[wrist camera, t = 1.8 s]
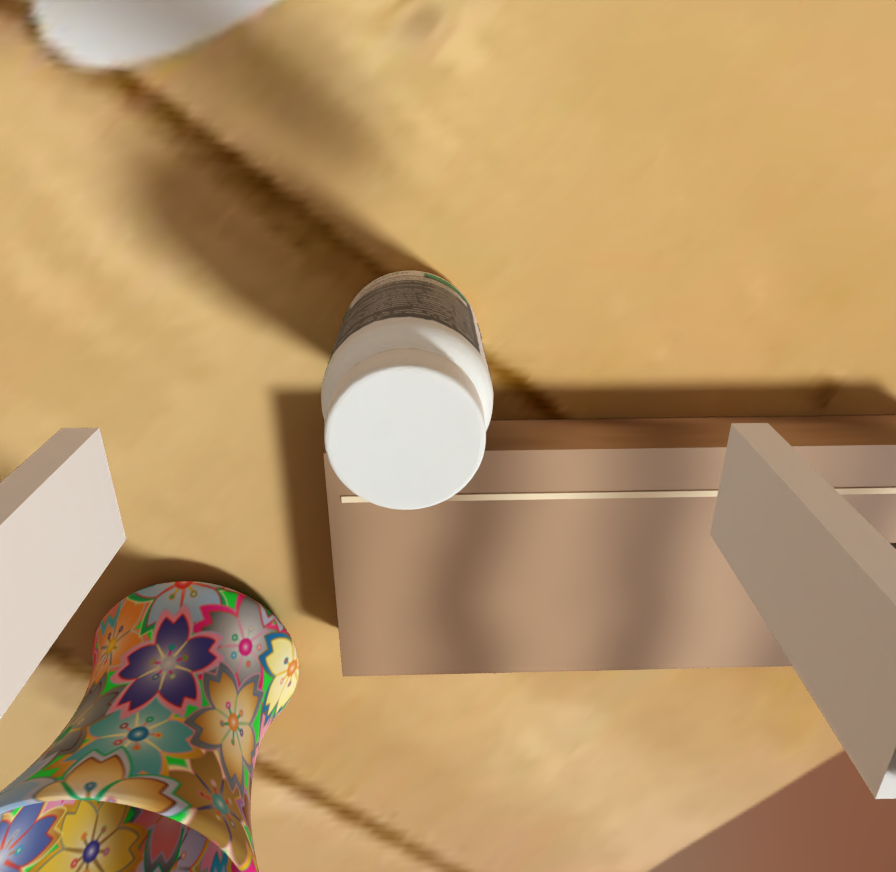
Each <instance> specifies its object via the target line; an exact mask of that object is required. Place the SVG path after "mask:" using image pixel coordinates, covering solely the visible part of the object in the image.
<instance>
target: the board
mask: <svg viewBox="0 0 896 872" xmlns="http://www.w3.org/2000/svg"><path fill="white" fill-rule="evenodd" d="M731 423H768V424H769V425H770V426H771V427H772V428H773V429H774V430H775V431H776V432H777V433H778V434H779V435H780V436H781V437H782V438H783V439H784V440H786V441H787V442H788V443H789V444H790V445H791V446H792V447H793V448H794V449H795V450H796V451H797V452H798V453H799V454H800V455H801V456H802V457H803V458H804V459H805V460H806V461H807V462H808V463H809V464H810V465H811V466H812V467H813V468H814V469H815V470H816V471H817V472H818V473H819V474H820V475H821V476H822V477H823V478H824V479H825V480H826V481H827V482H828V483H829V484H830V485H831V486H832V487H833V488H834V489H835V490H836V491H837V492H838V493H839V494H840V495H841V496H842V497H843V498H844V499H845V500H846V501H847V502H848V503H849V504H850V505H851V506H852V507H853V508H854V509H855V510H856V511H857V512H858V513H860V514H861V515H862V516H863V517H864V518H865V519H866V520H867V521H868V522H869V523H870V524H871V525H872V526H873V527H874V528H875V529H876V530H877V531H878V532H879V533H880V534H881V535H882V536H883V537H884V538H885V539H886V540H887V541H888V542H889V543H896V415H856V416H781V417H706V418H632V419H557V420H490V423H489V426H488V428H487V431H486V445H485V451H484V455H483V458H482V461H481V464H480V466H479V468H478V469H477V471H476V473H475V474H474V476H473V477H472V479H471V480H470V481H469V482H468V483H467V485H466V486H465V487H464V488H462V489H461V490H460V491H459V492H458V493H456V494H455V495H454V496H452V497H451V498H449V499H447V500H445V501H443V502H440V503H438V504H436V505H433V506H430V507H425V508H421V509H414V510H399V509H390V508H386V507H382V506H378V505H375V504H373V503H371V502H368V501H366V500H364V499H363V498H361V497H359V496H358V495H356V494H355V493H353V492H352V491H351V490H349V489H348V488H347V487H346V486H345V485H344V484H343V483H342V481H341V480H340V479H339V478H338V477H337V475H336V474H335V472H334V470H333V469H332V467H331V465H330V463H329V460H328V457H327V454H326V450H325V449H324V452H323V456H324V467H325V479H326V490H327V502H328V513H329V524H330V536H331V547H332V559H333V570H334V582H335V593H336V605H337V616H338V627H339V639H340V650H341V662H342V673H343V676H381V675H425V674H468V673H512V672H555V671H598V670H642V669H685V668H728V667H772V666H792V664H791V663H790V661H789V660H788V658H787V656H786V655H785V653H784V652H783V650H782V648H781V647H780V645H779V644H778V642H777V640H776V639H775V637H774V636H773V634H772V632H771V631H770V629H769V628H768V626H767V624H766V623H765V621H764V620H763V618H762V616H761V615H760V613H759V612H758V610H757V608H756V607H755V605H754V604H753V602H752V600H751V599H750V597H749V596H748V594H747V592H746V591H745V589H744V588H743V586H742V584H741V583H740V581H739V580H738V578H737V576H736V575H735V573H734V572H733V570H732V568H731V567H730V565H729V564H728V562H727V560H726V559H725V557H724V556H723V554H722V552H721V551H720V549H719V548H718V546H717V544H716V543H715V541H714V540H713V538H712V536H711V535H710V531H711V526H712V521H713V516H714V510H715V505H716V500H717V495H718V490H719V485H720V479H721V474H722V469H723V464H724V459H725V454H726V448H727V443H728V438H729V433H730V428H731Z"/></svg>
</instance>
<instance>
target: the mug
mask: <svg viewBox="0 0 896 872" xmlns="http://www.w3.org/2000/svg"><path fill="white" fill-rule="evenodd" d="M92 660H93V672H92V676H91V680H90V683H89V686H88V688H87V691H86V693H85V696H84V698H83V700H82V702H81V704H80V705H79V707H78V709H77V711H76V712H75V714H74V716H73V717H72V718H71V720H70V721H69V723H68V724H67V726H66V727H65V728H64V730H63V731H62V732H61V734H60V735H59V736H58V737H57V739H56V740H55V741H54V742H53V743H52V745H51V746H50V747H49V748H48V749H47V750H46V751H45V752H44V753H43V754H42V755H41V756H40V757H39V758H38V759H37V760H36V761H35V762H34V763H33V764H32V765H31V766H30V767H29V768H28V769H27V770H26V771H25V772H24V773H22V774H21V775H20V776H19V777H18V778H17V779H16V780H14V781H13V782H12V783H11V784H9V785H8V786H7V787H6V788H5V789H3V790H2V791H1V792H0V872H259V870H258V866H257V861H256V856H255V851H254V845H253V838H252V829H251V785H252V777H253V771H254V766H255V761H256V757H257V753H258V750H259V747H260V744H261V741H262V739H263V736H264V734H265V732H266V730H267V728H268V726H269V725H270V723H271V722H272V721H273V719H274V718H275V717H276V716H278V714H279V713H280V712H281V711H282V710H283V709H284V708H285V707H286V705H287V704H288V702H289V701H290V699H291V697H292V696H293V693H294V691H295V689H296V685H297V682H298V676H299V664H298V656H297V652H296V648H295V645H294V643H293V640H292V639H291V637H290V635H289V633H288V632H287V630H286V628H285V627H284V626H283V625H282V623H281V622H280V621H279V620H278V619H277V618H276V617H275V616H274V615H273V614H272V613H271V612H270V611H269V610H268V609H267V608H265V607H264V606H263V605H261V604H260V603H258V602H257V601H255V600H254V599H252V598H250V597H249V596H246V595H244V594H242V593H240V592H238V591H235V590H233V589H230V588H227V587H224V586H220V585H216V584H211V583H205V582H196V581H177V582H167V583H161V584H156V585H153V586H149V587H146V588H143V589H140V590H138V591H136V592H134V593H132V594H130V595H128V596H127V597H125V598H124V599H122V600H121V601H120V602H118V603H117V604H116V605H115V606H114V607H113V608H112V609H111V610H110V611H109V612H108V613H107V614H106V615H105V616H104V618H103V619H102V621H101V623H100V624H99V626H98V628H97V631H96V634H95V637H94V641H93V648H92Z"/></svg>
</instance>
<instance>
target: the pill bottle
mask: <svg viewBox="0 0 896 872" xmlns="http://www.w3.org/2000/svg"><path fill="white" fill-rule="evenodd" d="M493 395H494V393H493V387H492V381H491V375H490V372H489V367H488V363H487V360H486V356H485V352H484V348H483V343H482V337H481V333H480V329H479V326H478V323H477V320H476V317H475V314H474V312H473V309H472V307H471V305H470V304H469V302H468V300H467V299H466V298H465V296H464V295H463V294H462V293H461V292H460V291H459V290H458V289H457V288H456V287H455V286H454V285H452V284H451V283H449V282H448V281H447V280H445V279H443V278H441V277H439V276H437V275H434V274H431V273H427V272H423V271H415V270H409V271H398V272H393V273H389V274H386V275H384V276H381V277H379V278H377V279H375V280H373V281H372V282H371V283H369V284H368V285H366V286H365V287H364V288H363V289H362V290H361V291H360V292H359V293H358V294H357V295H356V297H355V298H354V299H353V301H352V303H351V304H350V306H349V308H348V310H347V312H346V315H345V317H344V320H343V324H342V326H341V329H340V331H339V334H338V337H337V340H336V343H335V346H334V349H333V352H332V355H331V358H330V360H329V363H328V366H327V368H326V371H325V374H324V378H323V383H322V390H321V405H322V413H323V417H324V421H325V426H324V443H325V450H326V454H327V457H328V460H329V463H330V465H331V467H332V469H333V470H334V472H335V474H336V475H337V477H338V478H339V479H340V480H341V481H342V483H343V484H344V485H345V486H346V487H347V488H348V489H349V490H351V491H352V492H353V493H355V494H356V495H358V496H359V497H361V498H363V499H364V500H366V501H368V502H371V503H373V504H375V505H378V506H382V507H386V508H390V509H399V510H414V509H421V508H425V507H430V506H433V505H436V504H438V503H440V502H443V501H445V500H447V499H449V498H451V497H452V496H454V495H455V494H456V493H458V492H459V491H460V490H461V489H462V488H464V487H465V486H466V485H467V483H468V482H469V481H470V480H471V479H472V477H473V476H474V474H475V473H476V471H477V469H478V468H479V466H480V464H481V461H482V458H483V455H484V451H485V445H486V431H487V428H488V426H489V423H490V420H491V415H492V409H493Z"/></svg>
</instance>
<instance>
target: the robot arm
mask: <svg viewBox="0 0 896 872" xmlns="http://www.w3.org/2000/svg"><path fill="white" fill-rule="evenodd" d="M710 535H711V536H712V538H713V540H714V541H715V543H716V544H717V546H718V548H719V549H720V551H721V552H722V554H723V556H724V557H725V559H726V560H727V562H728V564H729V565H730V567H731V568H732V570H733V572H734V573H735V575H736V576H737V578H738V580H739V581H740V583H741V584H742V586H743V588H744V589H745V591H746V592H747V594H748V596H749V597H750V599H751V600H752V602H753V604H754V605H755V607H756V608H757V610H758V612H759V613H760V615H761V616H762V618H763V620H764V621H765V623H766V624H767V626H768V628H769V629H770V631H771V632H772V634H773V636H774V637H775V639H776V640H777V642H778V644H779V645H780V647H781V648H782V650H783V652H784V653H785V655H786V656H787V658H788V660H789V661H790V663H791V664H792V666H793V668H794V669H795V671H796V672H797V674H798V676H799V677H800V679H801V680H802V682H803V684H804V685H805V687H806V688H807V690H808V692H809V693H810V695H811V696H812V698H813V700H814V701H815V703H816V704H817V706H818V708H819V709H820V711H821V712H822V714H823V716H824V717H825V719H826V720H827V722H828V724H829V725H830V727H831V728H832V730H833V732H834V733H835V735H836V736H837V738H838V740H839V741H840V743H841V744H842V746H843V748H844V749H845V751H846V752H847V754H848V756H849V757H850V759H851V760H852V762H853V763H854V765H855V767H856V768H857V770H858V772H859V773H860V775H861V776H862V778H863V780H864V781H865V783H866V784H867V786H868V788H869V789H870V791H871V792H872V794H873V796H874V797H875V799H884V798H885V799H887V798H888V799H890V798H896V543H889V542H888V541H887V540H886V539H885V538H884V537H883V536H882V535H881V534H880V533H879V532H878V531H877V530H876V529H875V528H874V527H873V526H872V525H871V524H870V523H869V522H868V521H867V520H866V519H865V518H864V517H863V516H862V515H861V514H860V513H858V512H857V511H856V510H855V509H854V508H853V507H852V506H851V505H850V504H849V503H848V502H847V501H846V500H845V499H844V498H843V497H842V496H841V495H840V494H839V493H838V492H837V491H836V490H835V489H834V488H833V487H832V486H831V485H830V484H829V483H828V482H827V481H826V480H825V479H824V478H823V477H822V476H821V475H820V474H819V473H818V472H817V471H816V470H815V469H814V468H813V467H812V466H811V465H810V464H809V463H808V462H807V461H806V460H805V459H804V458H803V457H802V456H801V455H800V454H799V453H798V452H797V451H796V450H795V449H794V448H793V447H792V446H791V445H790V444H789V443H788V442H787V441H786V440H784V439H783V438H782V437H781V436H780V435H779V434H778V433H777V432H776V431H775V430H774V429H773V428H772V427H771V426H770V425H769V424H768V423H731V428H730V433H729V438H728V443H727V448H726V454H725V459H724V464H723V469H722V474H721V479H720V485H719V490H718V495H717V500H716V505H715V510H714V516H713V521H712V526H711V531H710ZM125 540H126V537H125V532H124V528H123V524H122V520H121V516H120V512H119V507H118V503H117V499H116V495H115V491H114V487H113V483H112V478H111V474H110V470H109V466H108V462H107V458H106V454H105V449H104V445H103V441H102V437H101V433H100V429H99V428H61V429H60V430H59V431H58V432H57V433H56V434H55V435H54V436H52V437H51V438H50V439H49V440H48V441H47V442H46V443H45V444H43V445H42V446H41V447H40V448H39V449H38V450H37V451H36V452H34V453H33V454H32V455H31V456H30V457H29V458H28V459H26V460H25V461H24V462H23V463H22V464H21V465H20V466H19V467H17V468H16V469H15V470H14V471H13V472H12V473H11V474H10V475H8V476H7V477H6V478H5V479H4V480H3V481H2V482H1V483H0V719H1V717H2V716H3V715H4V713H5V712H6V710H7V709H8V707H9V706H10V705H11V703H12V702H13V700H14V699H15V697H16V696H17V695H18V693H19V692H20V690H21V689H22V687H23V686H24V685H25V683H26V682H27V680H28V679H29V677H30V676H31V675H32V673H33V672H34V670H35V669H36V667H37V666H38V665H39V663H40V662H41V660H42V659H43V657H44V656H45V655H46V653H47V652H48V650H49V649H50V647H51V646H52V645H53V643H54V642H55V640H56V639H57V637H58V636H59V635H60V633H61V632H62V630H63V629H64V627H65V626H66V625H67V623H68V622H69V620H70V619H71V617H72V616H73V615H74V613H75V612H76V610H77V609H78V607H79V606H80V605H81V603H82V602H83V600H84V599H85V597H86V596H87V595H88V593H89V592H90V590H91V589H92V587H93V586H94V585H95V583H96V582H97V580H98V579H99V577H100V576H101V575H102V573H103V572H104V570H105V569H106V567H107V566H108V565H109V563H110V562H111V560H112V559H113V557H114V556H115V555H116V553H117V552H118V550H119V549H120V547H121V546H122V545H123V543H124V542H125Z"/></svg>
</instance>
